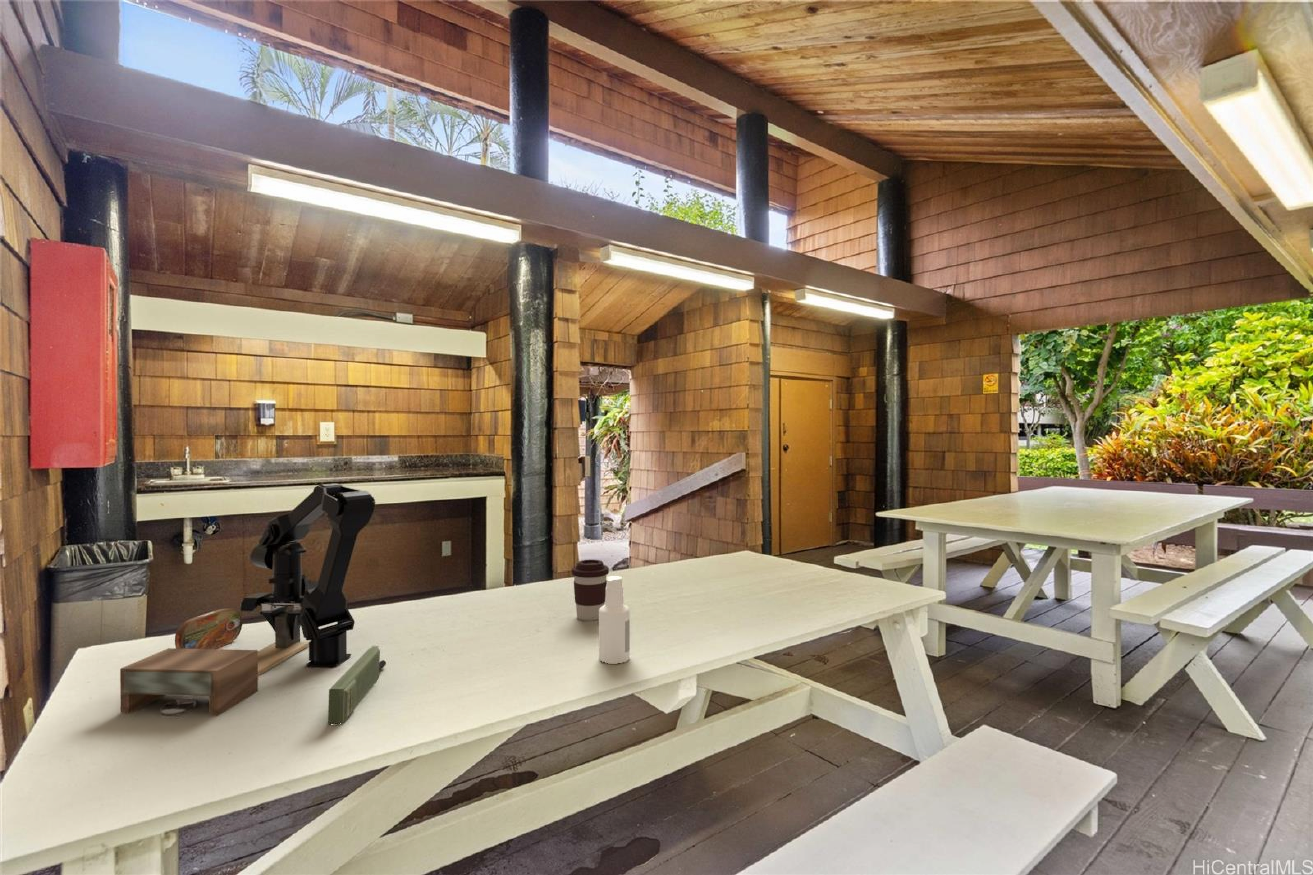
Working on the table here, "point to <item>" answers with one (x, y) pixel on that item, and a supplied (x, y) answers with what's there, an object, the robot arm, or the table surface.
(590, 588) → the coffee cup
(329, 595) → the robot arm
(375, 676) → the handheld radio
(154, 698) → the wooden bridge block
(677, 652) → the table surface
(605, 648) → the spray bottle
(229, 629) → the tin
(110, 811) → the table surface
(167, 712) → the token
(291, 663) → the table surface
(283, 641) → the scraper
